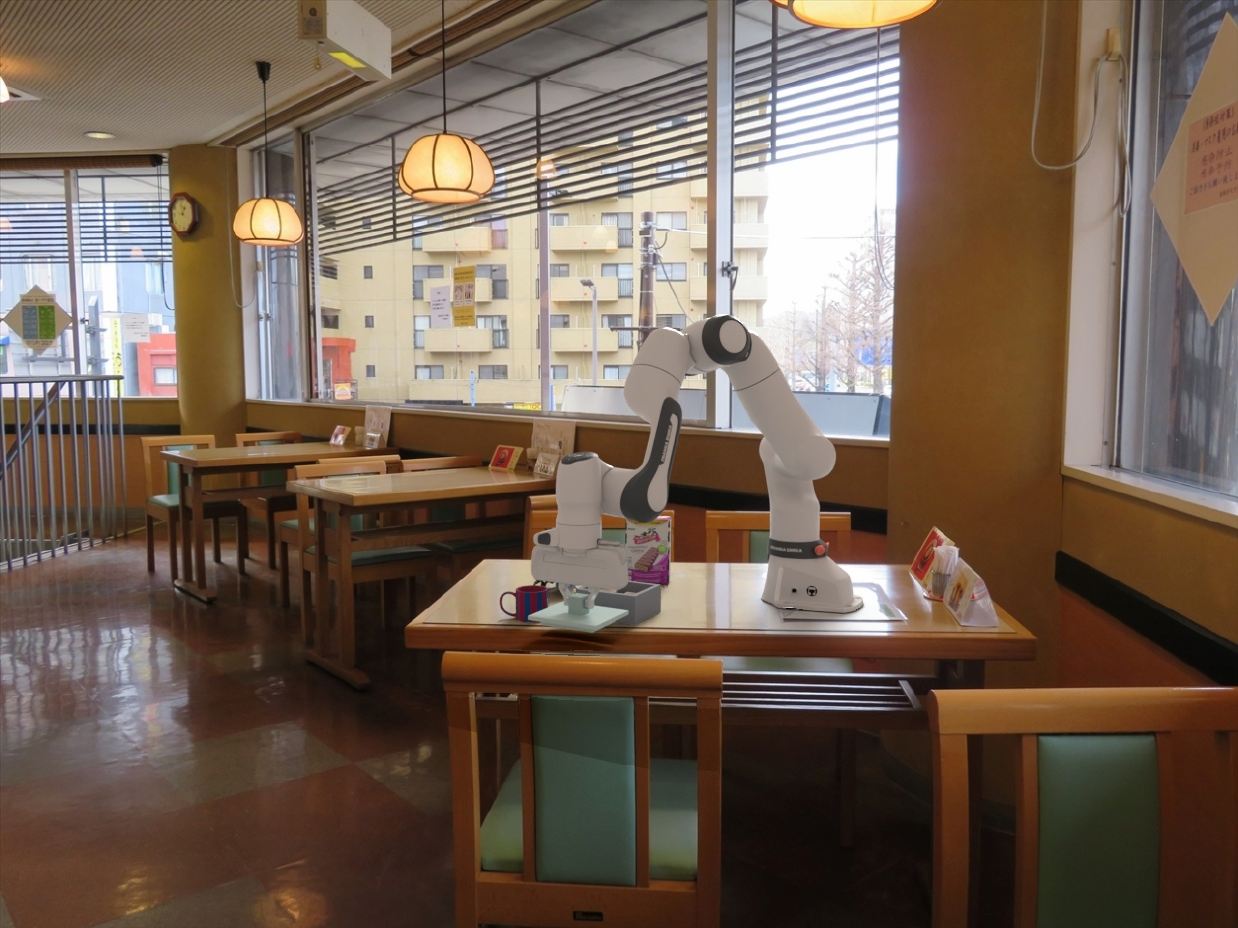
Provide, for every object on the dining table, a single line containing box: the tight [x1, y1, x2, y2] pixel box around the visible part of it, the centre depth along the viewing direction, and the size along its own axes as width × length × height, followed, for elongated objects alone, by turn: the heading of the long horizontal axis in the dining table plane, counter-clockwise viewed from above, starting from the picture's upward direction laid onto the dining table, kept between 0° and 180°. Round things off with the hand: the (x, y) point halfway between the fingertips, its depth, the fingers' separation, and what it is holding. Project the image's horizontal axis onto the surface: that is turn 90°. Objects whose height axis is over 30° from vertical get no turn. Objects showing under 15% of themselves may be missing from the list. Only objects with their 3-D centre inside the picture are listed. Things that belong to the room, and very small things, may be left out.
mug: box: [499, 584, 549, 623], centre depth 198 cm, size 7×10×7 cm
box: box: [575, 581, 662, 626], centre depth 201 cm, size 14×12×6 cm
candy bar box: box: [624, 515, 672, 586], centre depth 233 cm, size 11×5×16 cm, turn 84°
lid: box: [528, 592, 629, 634], centre depth 184 cm, size 15×13×6 cm
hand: (578, 606), depth 184 cm, fingers closed on lid, 3 cm apart
